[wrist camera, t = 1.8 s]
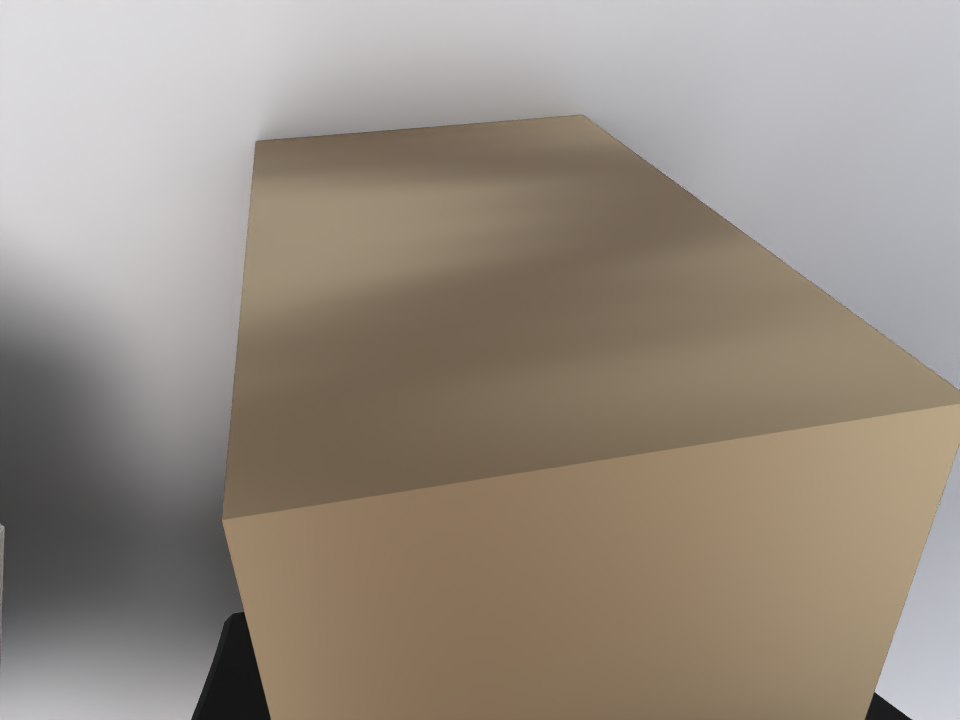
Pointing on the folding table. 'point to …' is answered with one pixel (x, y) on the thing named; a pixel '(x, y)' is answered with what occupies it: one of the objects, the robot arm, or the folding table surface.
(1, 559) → the die
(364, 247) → the tan rectangular block
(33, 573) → the folding table surface
